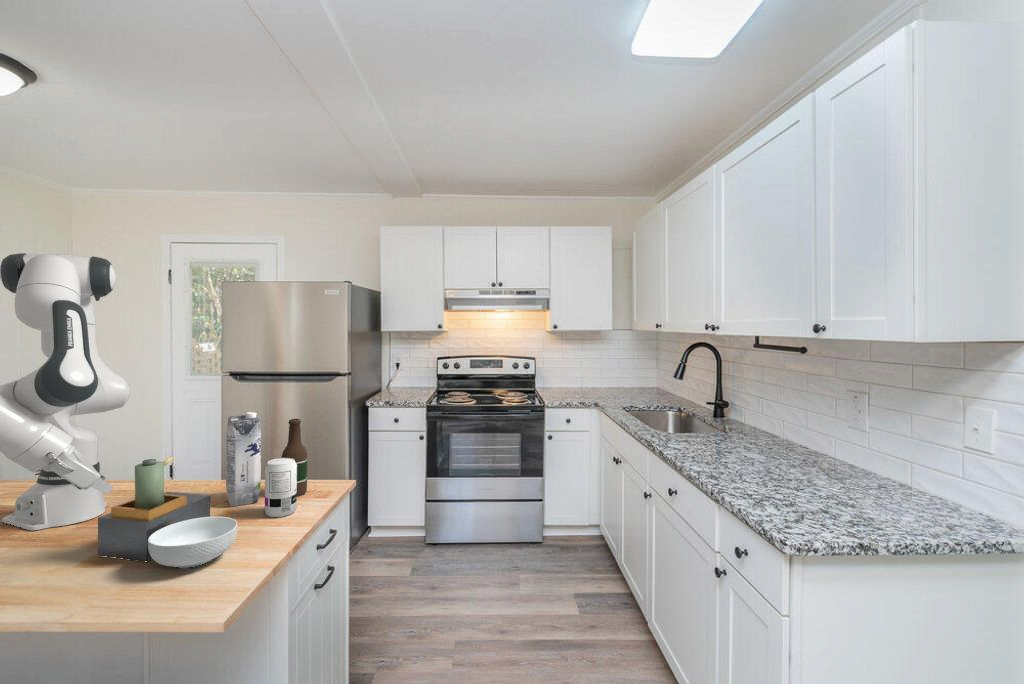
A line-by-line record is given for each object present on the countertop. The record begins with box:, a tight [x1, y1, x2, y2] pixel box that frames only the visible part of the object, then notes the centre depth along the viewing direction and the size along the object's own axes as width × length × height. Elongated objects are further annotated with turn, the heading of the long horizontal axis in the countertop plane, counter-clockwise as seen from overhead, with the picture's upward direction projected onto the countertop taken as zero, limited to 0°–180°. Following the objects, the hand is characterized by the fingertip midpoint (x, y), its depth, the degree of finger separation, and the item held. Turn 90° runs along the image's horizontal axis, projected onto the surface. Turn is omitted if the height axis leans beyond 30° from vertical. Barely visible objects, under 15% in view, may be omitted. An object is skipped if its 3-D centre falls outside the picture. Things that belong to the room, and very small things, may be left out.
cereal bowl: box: [148, 516, 239, 569], centre depth 108 cm, size 17×17×7 cm
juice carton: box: [225, 411, 262, 508], centre depth 145 cm, size 9×10×27 cm
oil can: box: [134, 456, 174, 509], centre depth 114 cm, size 8×6×12 cm
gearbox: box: [97, 491, 211, 562], centre depth 117 cm, size 16×18×11 cm
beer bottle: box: [280, 418, 308, 497], centre depth 152 cm, size 8×8×24 cm
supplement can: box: [264, 457, 298, 518], centre depth 136 cm, size 8×8×15 cm
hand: (106, 485), depth 107 cm, fingers open, 8 cm apart
